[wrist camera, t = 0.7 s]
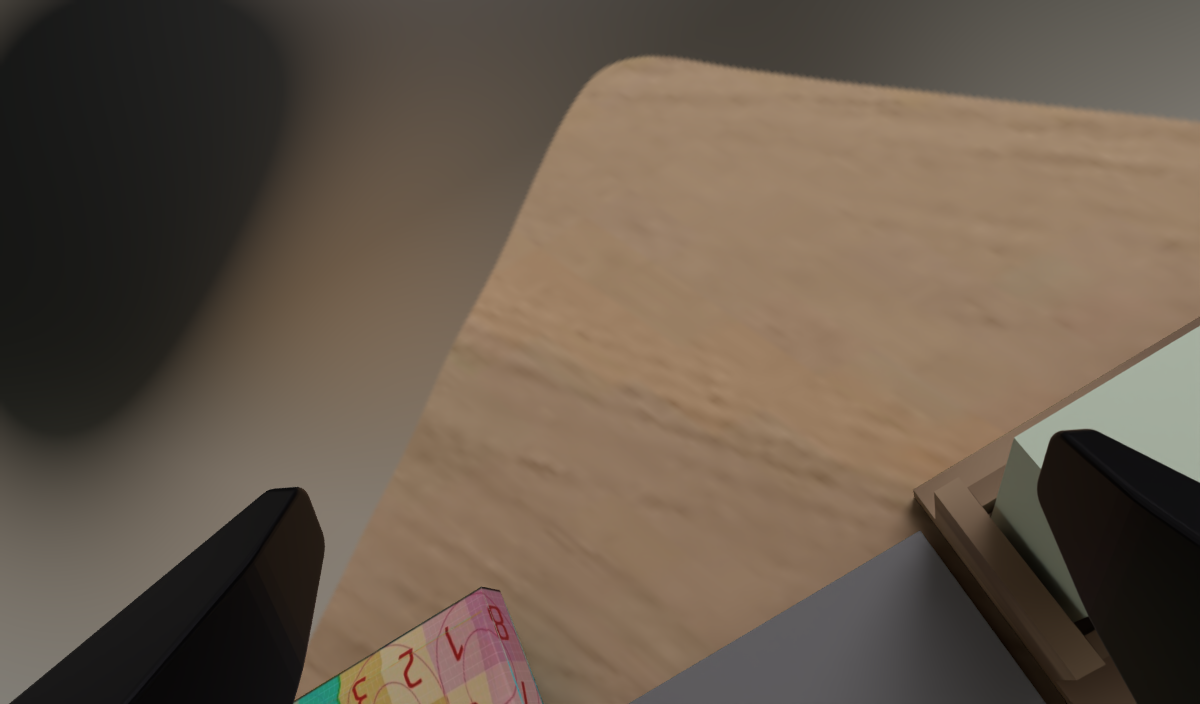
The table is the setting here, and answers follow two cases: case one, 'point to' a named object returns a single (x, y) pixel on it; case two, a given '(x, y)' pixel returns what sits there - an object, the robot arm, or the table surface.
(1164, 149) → the table surface
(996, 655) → the mat
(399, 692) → the puzzle game
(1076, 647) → the rack
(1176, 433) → the board
